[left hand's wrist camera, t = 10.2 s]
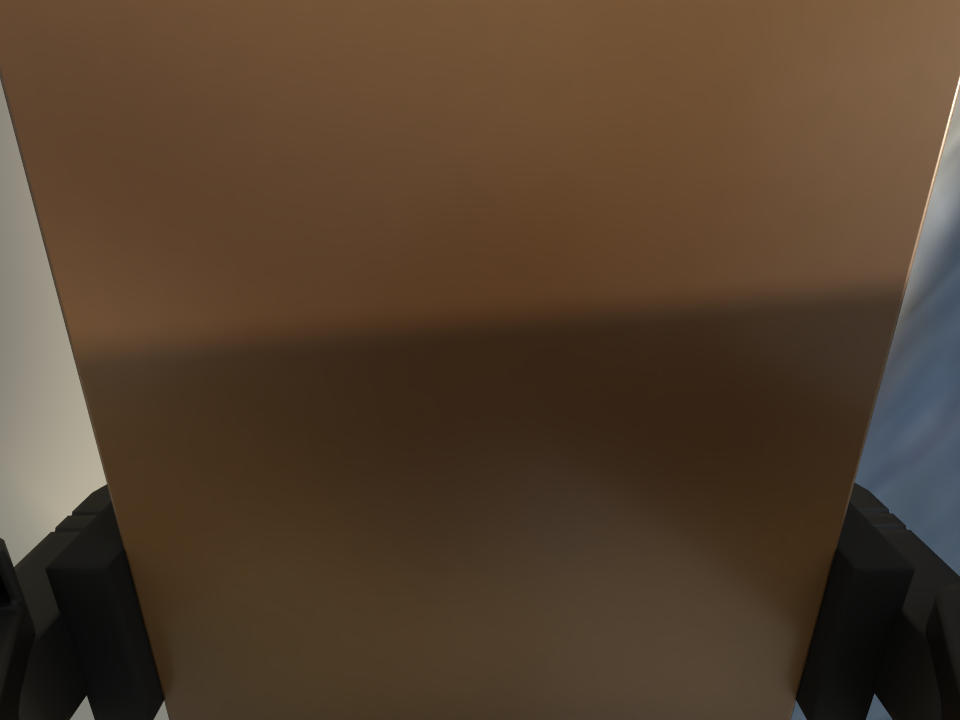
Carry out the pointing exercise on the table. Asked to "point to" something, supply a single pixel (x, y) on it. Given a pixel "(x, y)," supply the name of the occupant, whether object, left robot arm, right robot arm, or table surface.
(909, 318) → the table surface
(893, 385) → the table surface
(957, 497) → the table surface
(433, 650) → the wooden beam
